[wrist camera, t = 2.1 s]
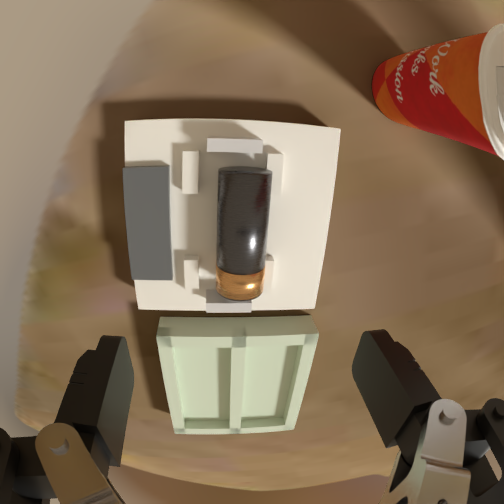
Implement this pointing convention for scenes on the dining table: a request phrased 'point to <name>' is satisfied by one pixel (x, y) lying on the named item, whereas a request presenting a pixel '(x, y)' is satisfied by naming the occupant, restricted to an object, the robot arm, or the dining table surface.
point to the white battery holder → (205, 208)
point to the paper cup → (449, 89)
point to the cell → (242, 231)
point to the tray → (235, 371)
